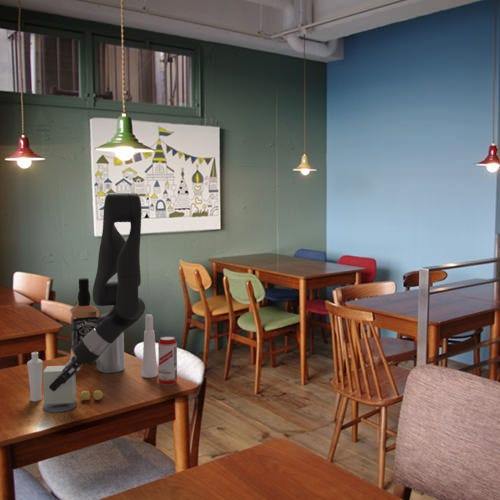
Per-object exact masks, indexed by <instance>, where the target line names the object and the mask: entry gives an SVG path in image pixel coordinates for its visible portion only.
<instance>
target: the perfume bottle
mask: <svg viewBox="0 0 500 500" xmlns="http://www.w3.org/2000/svg"><path fill="white" fill-rule="evenodd" d="M26 364H27V374H28V375H27V376H28V383H29V384H28V385H29V390H30V398H29V401H30V402H40V401H42V400H44V397H43V396H42V387H43V367H44V365H43V364H44V361H43V360H42V359H40V358H39V352H38V351H33V352H31V359H30V360H28V361H27V362H26Z"/></svg>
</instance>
